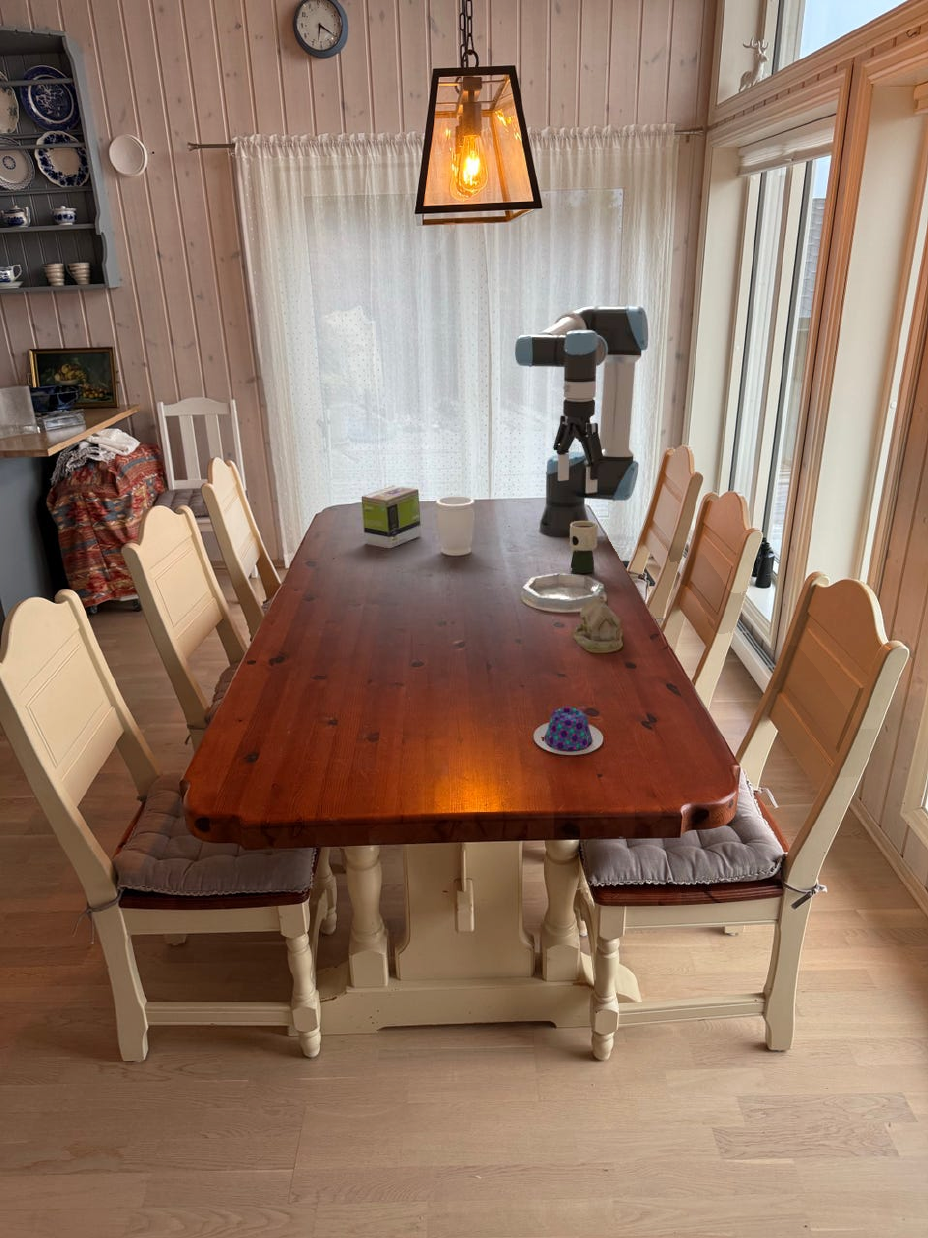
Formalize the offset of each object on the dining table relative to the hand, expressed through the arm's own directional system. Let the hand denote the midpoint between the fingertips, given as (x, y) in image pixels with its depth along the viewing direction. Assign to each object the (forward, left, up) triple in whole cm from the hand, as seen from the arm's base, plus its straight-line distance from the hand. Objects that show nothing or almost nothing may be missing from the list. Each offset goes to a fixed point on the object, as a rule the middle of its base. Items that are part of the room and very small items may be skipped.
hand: (576, 486), depth 220 cm
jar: (-14, -38, -25) cm, 47 cm away
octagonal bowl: (+12, 0, -25) cm, 28 cm away
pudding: (+79, +18, -25) cm, 85 cm away
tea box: (-19, -60, -25) cm, 67 cm away
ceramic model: (+35, +15, -25) cm, 46 cm away
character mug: (-8, 0, -25) cm, 26 cm away
